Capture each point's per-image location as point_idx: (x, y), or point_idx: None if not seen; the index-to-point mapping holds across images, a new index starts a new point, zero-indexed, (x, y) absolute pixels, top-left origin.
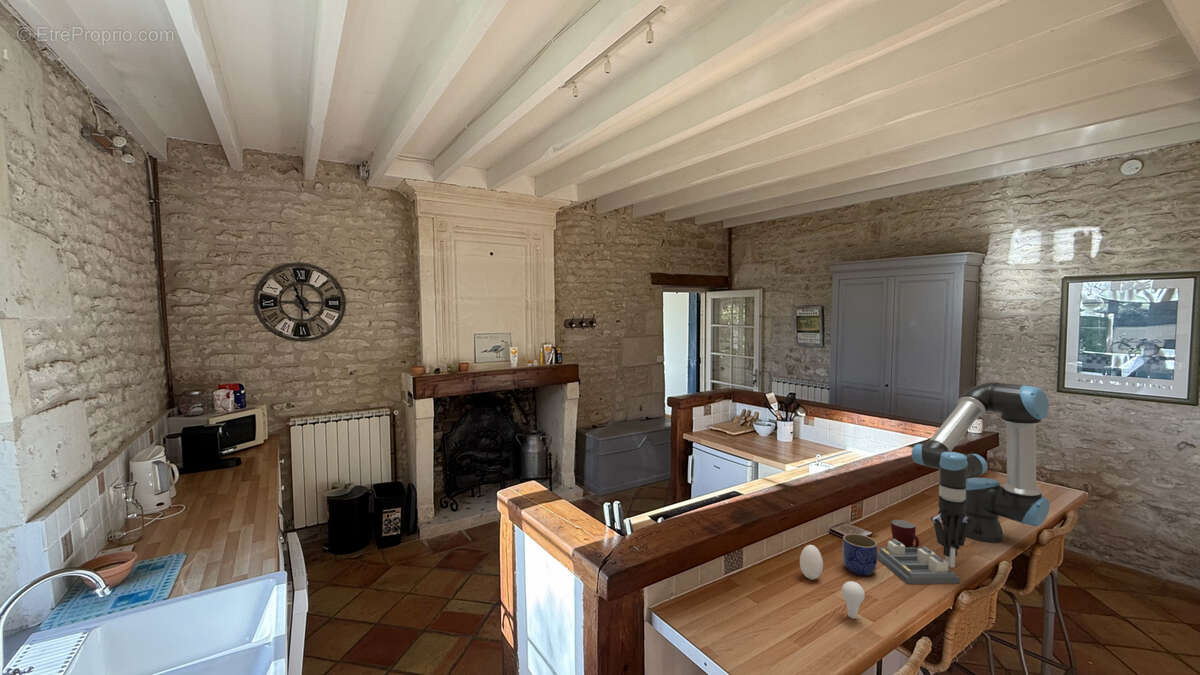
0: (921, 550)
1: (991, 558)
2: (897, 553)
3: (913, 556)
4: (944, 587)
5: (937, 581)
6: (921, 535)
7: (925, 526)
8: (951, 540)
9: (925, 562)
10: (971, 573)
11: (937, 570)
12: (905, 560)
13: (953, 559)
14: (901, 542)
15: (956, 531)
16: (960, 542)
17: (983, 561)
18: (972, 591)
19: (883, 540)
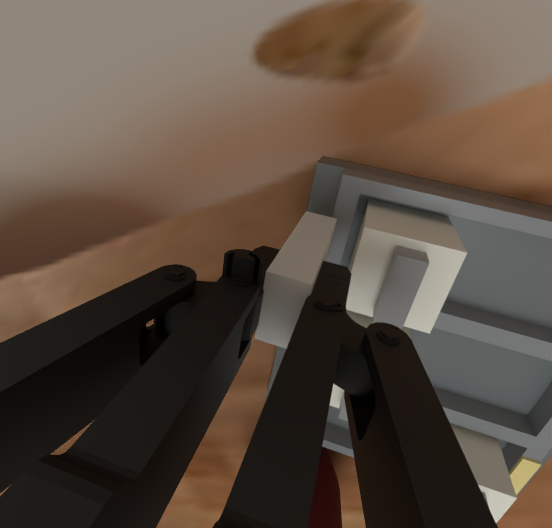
0: None
1: (10, 283)
2: (479, 443)
3: None
4: (462, 138)
5: (461, 190)
6: None
7: None
8: (235, 358)
9: (404, 327)
10: (173, 219)
11: (448, 227)
12: (448, 390)
13: (305, 233)
14: (331, 486)
15: (147, 425)
16: (178, 293)
17: (52, 277)
18: (327, 56)
19: None
